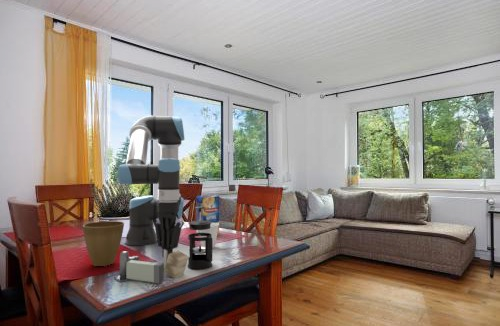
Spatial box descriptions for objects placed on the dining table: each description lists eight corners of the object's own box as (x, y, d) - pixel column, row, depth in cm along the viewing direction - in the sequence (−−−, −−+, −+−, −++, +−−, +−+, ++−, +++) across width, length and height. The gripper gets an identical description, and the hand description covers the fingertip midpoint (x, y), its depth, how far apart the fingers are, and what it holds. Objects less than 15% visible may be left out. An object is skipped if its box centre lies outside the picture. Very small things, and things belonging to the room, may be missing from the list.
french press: (181, 265, 121) (181, 206, 122) (200, 260, 128) (200, 204, 129) (200, 272, 113) (200, 209, 114) (220, 266, 120) (220, 206, 121)
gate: (126, 278, 105) (126, 261, 105) (131, 276, 108) (131, 259, 108) (159, 283, 101) (159, 265, 101) (163, 280, 104) (163, 263, 104)
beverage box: (219, 234, 177) (219, 195, 178) (203, 237, 170) (203, 197, 170) (212, 232, 182) (212, 195, 183) (196, 235, 175) (196, 196, 175)
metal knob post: (120, 282, 104) (120, 255, 104) (112, 278, 108) (112, 252, 108) (144, 276, 110) (144, 250, 110) (136, 272, 114) (136, 247, 114)
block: (163, 271, 110) (168, 253, 109) (173, 267, 114) (178, 250, 113) (174, 278, 107) (179, 260, 107) (183, 274, 112) (188, 256, 111)
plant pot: (121, 268, 119) (122, 226, 119) (78, 271, 114) (78, 228, 115) (125, 257, 133) (125, 219, 133) (87, 260, 129) (87, 221, 129)
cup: (215, 250, 143) (215, 226, 144) (195, 249, 145) (195, 225, 146) (221, 245, 153) (221, 222, 153) (202, 244, 155) (202, 222, 155)
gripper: (147, 201, 112) (146, 267, 112) (174, 203, 106) (173, 273, 105) (162, 199, 119) (161, 261, 118) (189, 201, 113) (188, 267, 112)
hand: (167, 267), depth 112 cm, fingers closed
